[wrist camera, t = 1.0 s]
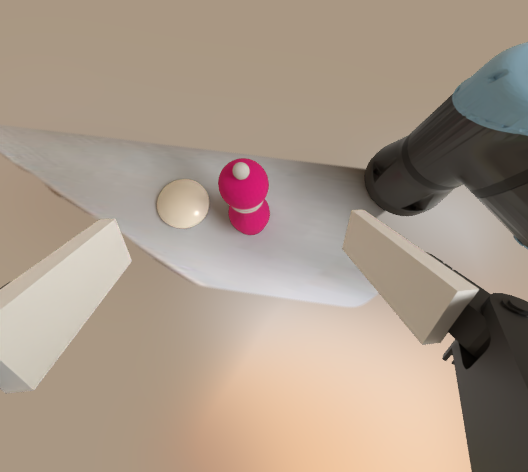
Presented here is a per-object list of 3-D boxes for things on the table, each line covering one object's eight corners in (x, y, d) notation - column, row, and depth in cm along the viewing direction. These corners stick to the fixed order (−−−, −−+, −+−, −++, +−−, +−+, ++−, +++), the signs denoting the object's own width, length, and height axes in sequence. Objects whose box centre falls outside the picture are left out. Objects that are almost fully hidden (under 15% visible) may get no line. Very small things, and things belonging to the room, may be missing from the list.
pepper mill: (242, 244, 39) (223, 213, 19) (226, 212, 40) (192, 152, 20) (275, 227, 39) (289, 181, 20) (258, 196, 41) (255, 123, 21)
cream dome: (219, 207, 40) (218, 205, 39) (179, 239, 39) (177, 238, 38) (189, 172, 41) (188, 169, 40) (149, 201, 40) (146, 200, 39)
